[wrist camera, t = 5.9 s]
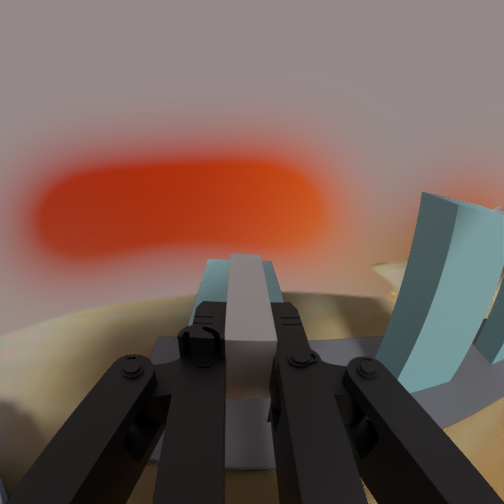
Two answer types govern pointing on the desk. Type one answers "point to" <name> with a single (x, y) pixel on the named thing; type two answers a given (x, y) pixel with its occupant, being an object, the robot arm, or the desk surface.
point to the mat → (340, 353)
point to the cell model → (2, 494)
